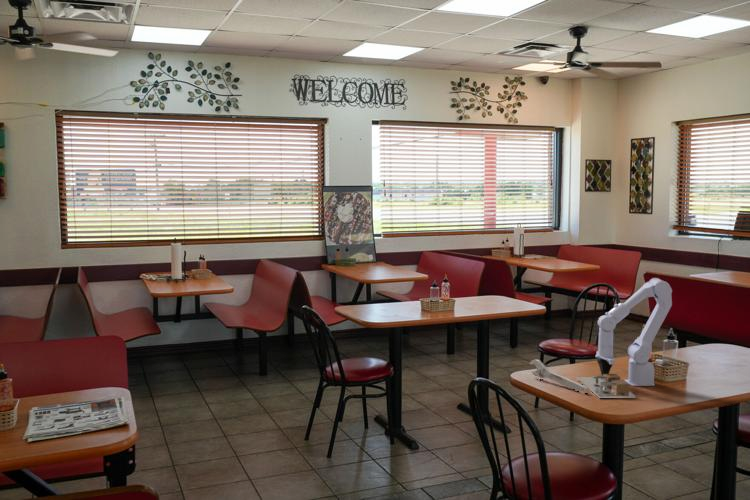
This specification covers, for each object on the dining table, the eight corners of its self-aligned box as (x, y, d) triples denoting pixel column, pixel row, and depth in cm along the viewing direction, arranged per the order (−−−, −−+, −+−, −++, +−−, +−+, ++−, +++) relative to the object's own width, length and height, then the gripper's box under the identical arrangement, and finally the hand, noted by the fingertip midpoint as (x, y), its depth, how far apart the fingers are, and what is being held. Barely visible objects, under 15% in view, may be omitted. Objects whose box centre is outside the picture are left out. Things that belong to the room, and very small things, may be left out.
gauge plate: (609, 378, 283) (609, 367, 283) (635, 398, 257) (635, 385, 257) (576, 379, 283) (576, 367, 282) (599, 399, 257) (599, 386, 256)
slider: (615, 382, 273) (615, 373, 273) (620, 386, 268) (620, 377, 268) (590, 382, 273) (590, 374, 272) (594, 386, 268) (595, 377, 267)
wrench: (585, 402, 263) (528, 375, 287) (588, 401, 264) (531, 375, 288) (587, 382, 261) (530, 357, 285) (590, 382, 262) (533, 357, 286)
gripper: (589, 340, 283) (588, 372, 284) (603, 349, 269) (602, 382, 270) (606, 340, 284) (605, 372, 285) (620, 348, 269) (619, 382, 270)
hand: (604, 377), depth 277 cm, fingers closed
